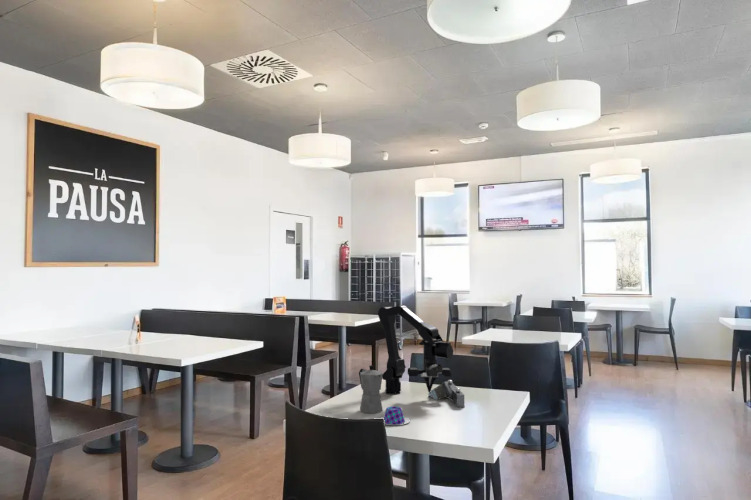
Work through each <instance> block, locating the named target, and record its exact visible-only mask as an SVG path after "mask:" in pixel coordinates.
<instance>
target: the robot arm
mask: <svg viewBox="0 0 751 500" xmlns="http://www.w3.org/2000/svg"><path fill="white" fill-rule="evenodd" d="M377 315H378V319H379V322H380V323H381V325H382V326H383V330H384V337H385V342H386V349H387V355H388V358H387V361H386V370H385V371H384V372H382V373H383V376H382V380H384V381H385V389H384V392H385V394H387V395H388V394H390V395H391V394H392V395H393V394H401V392H402V391H401V390H402V388H401V387H402V384H401V381H400V380H401V379H402V378H403V374H405V371H406V368H407V366H406V364H405V362H406V361H405V359H404V358H401V356H400V355H399V347H398V340H397V335H396V334H397V333H396V329H395V328H396V327H395V324H396V320H397V316H400V317H402V318H403V320H404V321H406V322H407V323H408V324H409V325H411V326H412V327H413V328H414V329H415V330H416V331H417V333H418V336H420V338H421V339H422V340H421V341H420V342H419V343H418V344H419V345H420V346H422V347H423V349H422V350H423V353H422V355H423V356H422V359H423V360H422V362H423V363H422V369H418V368H417V367H408V368H407V375H408V376H409V377H418V375H420V377H421V378H422V379H423V380H424V382H425V385H426V389H427V392H428V393H429V392H431V390H432V389H433V385H434V383H435V381H436V379H439V375H443V376H444V377H447V378H448V377H452V376H453V373H452V372H453V371H452V370H451V369H450V368H449V367H444V366H443V364H442V363H439V364H438V363H437V358H440V359H441V358H442V359H447V360H449V359H452V358H453V357H454V349H453V346H452V343H451V341H450V342H445V341H444V339H443V338H442V336H441V334H440V333H439V329H438V328H437V327H435V326H434V325H432V324H431V323H427V322H425V321H423V320H422V319H421V318H420V317H419V316H417V314H415V313H414V312H412V310H411V309H409V308H408V306H406V305H405V304H399V305H397V306H396V305H395V306H381V307H379V309H378V311H377ZM419 345H418V346H419Z"/></svg>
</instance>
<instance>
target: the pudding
mask: <svg viewBox="0 0 751 500" xmlns="http://www.w3.org/2000/svg"><path fill="white" fill-rule="evenodd" d="M403 411H404V410H403V409H402V407H400V406H395V405H394V406H393V405H392V406H387V407H386V409H385V412H384V416H382V417H380V418H384V420H385V425H388V426H390V425H391V426H398V425H399V426H403V425H406V424H409V423H410V422H411V419H410V418H408V417H406V416H404V412H403ZM405 421H406V422H405ZM404 422H405V423H404ZM403 423H404V424H403Z"/></svg>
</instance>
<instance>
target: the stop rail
mask: <svg viewBox="0 0 751 500" xmlns="http://www.w3.org/2000/svg"><path fill="white" fill-rule="evenodd" d="M444 382H445V383H446V386H447V388H448V390H449V393H450V398H449V400H451V402H452V403H453V404H454V405H455V406H456V408H465V394H464V393H463V392H462V391H461V387H457V386H456V385H455V383H453V380H452V379H448V380H447V381H444Z"/></svg>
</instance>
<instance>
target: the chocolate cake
mask: <svg viewBox="0 0 751 500" xmlns="http://www.w3.org/2000/svg"><path fill="white" fill-rule="evenodd" d="M445 382H446V381H443V382H442V383H440V384H438V386H436V387H435V388H432V389H431V391H430V392H428V394H427V395H428V397H429V398H433V400H437V401H438V400H441V399H443V398H447V399H450V393H449V390H448V388H447V386H446V383H445Z"/></svg>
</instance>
